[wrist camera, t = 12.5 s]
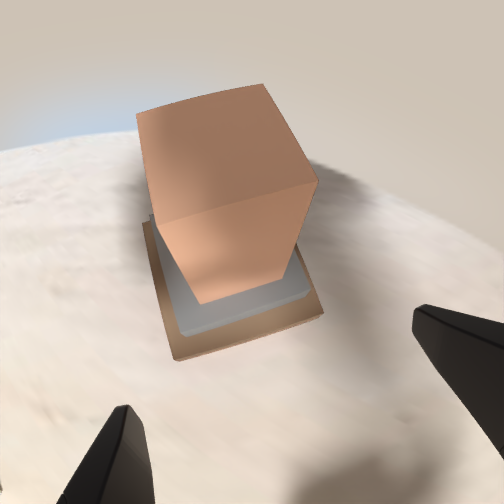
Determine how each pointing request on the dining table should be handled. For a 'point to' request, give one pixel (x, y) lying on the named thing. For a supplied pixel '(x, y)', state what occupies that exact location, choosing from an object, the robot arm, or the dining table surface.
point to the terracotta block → (226, 188)
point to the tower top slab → (231, 307)
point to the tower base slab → (234, 331)
